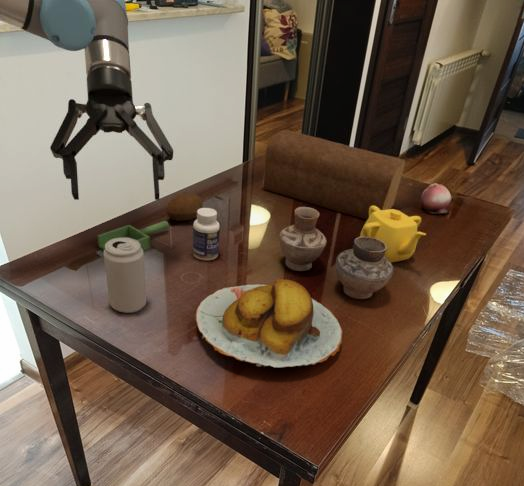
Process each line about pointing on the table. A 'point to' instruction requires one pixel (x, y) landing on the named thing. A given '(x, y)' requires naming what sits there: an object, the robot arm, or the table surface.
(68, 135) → the robot arm
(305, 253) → the pottery
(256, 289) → the food on plate
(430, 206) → the pink peach
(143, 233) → the scoop
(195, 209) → the potato
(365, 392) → the table surface
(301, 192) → the bread
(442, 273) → the table surface
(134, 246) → the beverage can
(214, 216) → the pill bottle
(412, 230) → the teapot
